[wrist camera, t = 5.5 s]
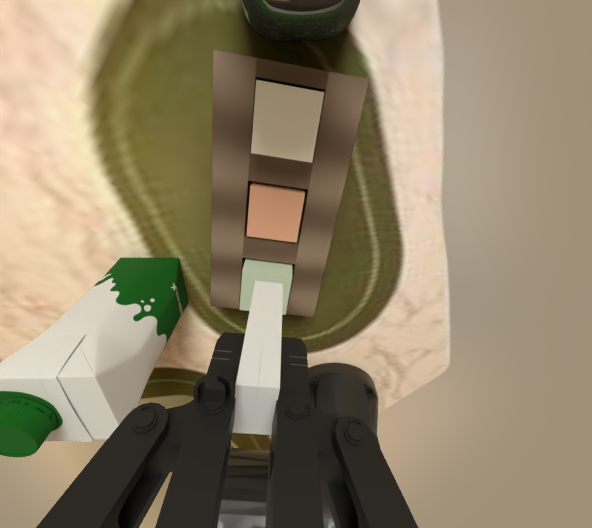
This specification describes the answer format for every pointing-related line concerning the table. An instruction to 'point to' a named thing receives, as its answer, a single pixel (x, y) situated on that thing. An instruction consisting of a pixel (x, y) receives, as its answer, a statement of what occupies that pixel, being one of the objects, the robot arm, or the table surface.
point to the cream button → (285, 121)
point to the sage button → (264, 279)
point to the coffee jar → (299, 18)
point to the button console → (277, 175)
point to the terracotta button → (274, 211)
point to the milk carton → (91, 358)
